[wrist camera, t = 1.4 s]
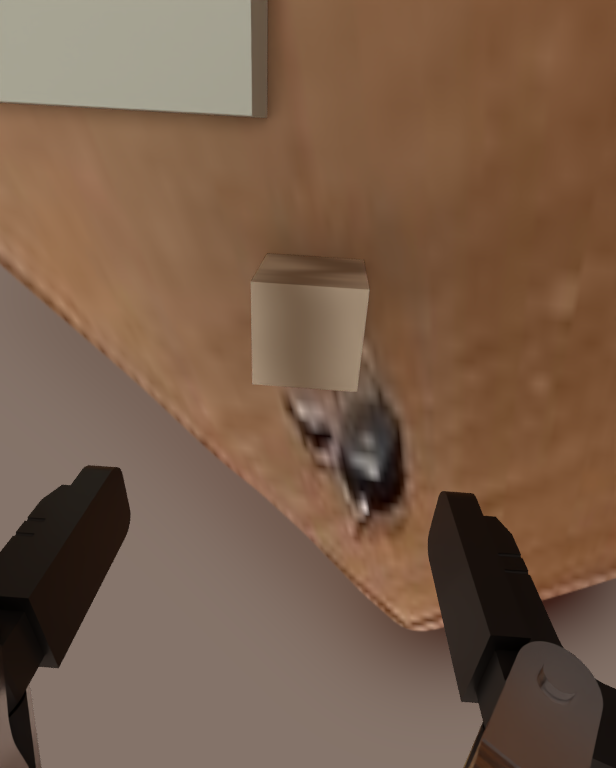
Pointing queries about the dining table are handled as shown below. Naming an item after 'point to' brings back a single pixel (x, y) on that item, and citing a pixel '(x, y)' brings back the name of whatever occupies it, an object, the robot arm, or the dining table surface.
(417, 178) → the dining table surface
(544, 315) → the dining table surface
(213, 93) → the plate
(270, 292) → the maple cube
